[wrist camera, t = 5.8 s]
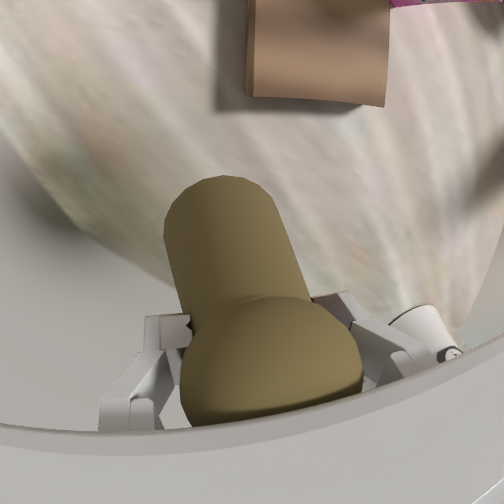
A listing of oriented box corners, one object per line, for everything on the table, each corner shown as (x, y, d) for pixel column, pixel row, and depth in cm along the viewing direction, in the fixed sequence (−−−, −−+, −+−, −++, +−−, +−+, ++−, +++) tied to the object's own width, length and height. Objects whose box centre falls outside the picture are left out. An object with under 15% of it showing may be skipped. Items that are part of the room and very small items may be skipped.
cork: (189, 295, 18) (219, 487, 9) (144, 202, 14) (115, 416, 5) (290, 258, 18) (387, 428, 9) (264, 158, 15) (409, 313, 5)
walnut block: (366, 103, 27) (384, 107, 24) (244, 94, 24) (253, 96, 22) (371, -7, 21) (389, -12, 18) (248, -31, 18) (257, -42, 16)
